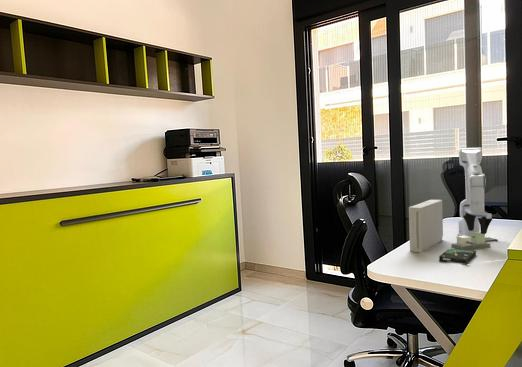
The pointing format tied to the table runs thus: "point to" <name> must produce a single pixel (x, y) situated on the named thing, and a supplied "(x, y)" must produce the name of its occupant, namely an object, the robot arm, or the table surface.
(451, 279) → the table surface
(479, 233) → the block
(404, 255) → the table surface
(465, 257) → the disk drive
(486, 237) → the phone
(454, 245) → the grey double frame
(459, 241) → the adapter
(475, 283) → the table surface
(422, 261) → the table surface
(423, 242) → the game console
